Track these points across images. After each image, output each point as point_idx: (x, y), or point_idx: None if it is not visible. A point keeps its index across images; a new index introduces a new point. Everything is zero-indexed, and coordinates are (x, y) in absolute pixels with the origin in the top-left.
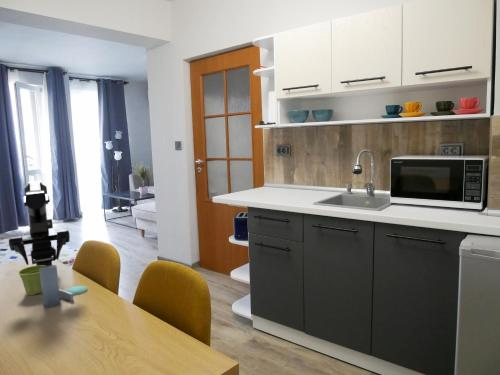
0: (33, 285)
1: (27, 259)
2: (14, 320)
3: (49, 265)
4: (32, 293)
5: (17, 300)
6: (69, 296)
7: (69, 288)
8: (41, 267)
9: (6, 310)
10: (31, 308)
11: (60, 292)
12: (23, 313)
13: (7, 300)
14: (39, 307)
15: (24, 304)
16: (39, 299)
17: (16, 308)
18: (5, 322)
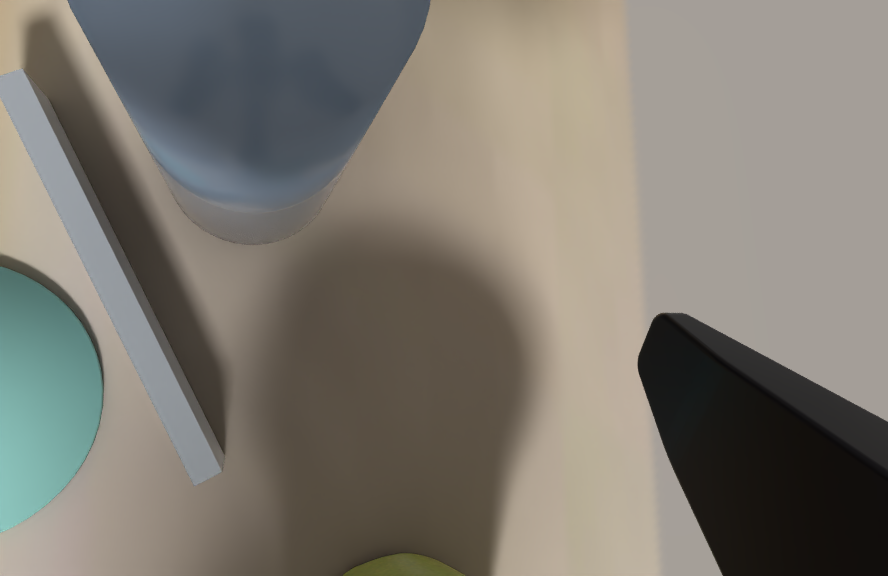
0: (436, 573)
1: (727, 364)
2: (561, 6)
3: (212, 94)
4: (430, 558)
5: (556, 482)
6: (48, 113)
7: (13, 518)
8: (387, 71)
9: (628, 278)
10: (438, 180)
11: (137, 296)
12: (500, 108)
13: (635, 537)
14: (370, 155)
15: (496, 329)
16: (365, 379)
17: (556, 271)
18: (619, 17)
